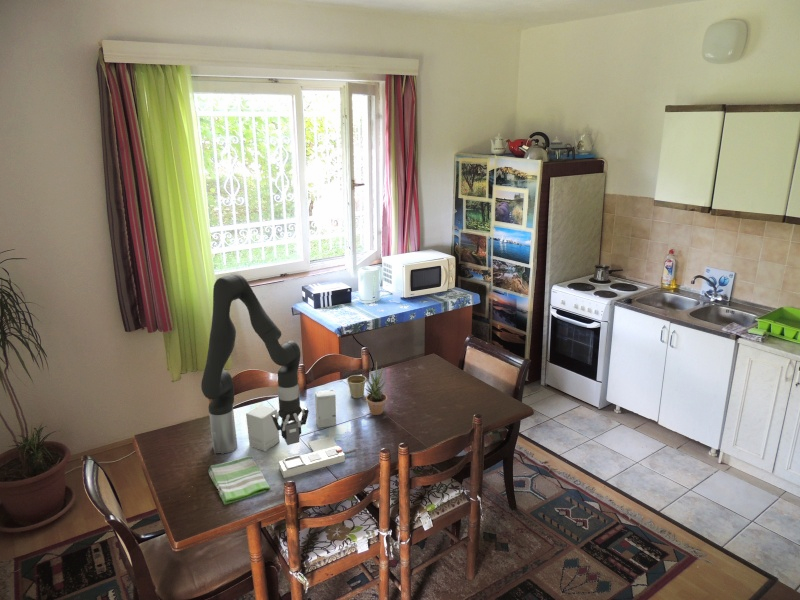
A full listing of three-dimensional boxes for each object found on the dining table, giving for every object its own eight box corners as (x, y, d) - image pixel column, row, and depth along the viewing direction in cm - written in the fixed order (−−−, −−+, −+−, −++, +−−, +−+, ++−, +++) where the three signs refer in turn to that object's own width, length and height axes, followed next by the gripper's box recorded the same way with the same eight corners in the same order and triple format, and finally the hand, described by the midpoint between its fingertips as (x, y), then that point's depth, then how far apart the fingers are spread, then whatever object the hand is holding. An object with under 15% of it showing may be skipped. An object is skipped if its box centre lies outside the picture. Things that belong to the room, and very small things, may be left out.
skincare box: (318, 428, 243) (316, 397, 239) (315, 421, 249) (313, 391, 244) (337, 425, 246) (335, 394, 241) (334, 418, 251) (333, 388, 247)
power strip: (284, 477, 209) (283, 469, 208) (279, 468, 215) (278, 459, 214) (359, 457, 222) (358, 448, 220) (352, 448, 228) (352, 440, 227)
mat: (315, 455, 223) (315, 454, 223) (308, 443, 232) (308, 442, 232) (339, 449, 227) (339, 447, 227) (331, 437, 236) (331, 436, 236)
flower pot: (344, 393, 275) (343, 377, 272) (362, 389, 278) (362, 373, 276) (351, 401, 267) (350, 384, 264) (369, 397, 270) (369, 381, 268)
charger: (287, 445, 208) (286, 426, 205) (284, 439, 212) (283, 420, 209) (299, 442, 210) (298, 423, 207) (296, 436, 214) (294, 417, 211)
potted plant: (390, 414, 254) (389, 363, 247) (370, 418, 251) (368, 367, 244) (382, 404, 263) (381, 355, 256) (363, 408, 260) (361, 359, 252)
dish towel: (252, 460, 222) (251, 452, 221) (272, 490, 203) (271, 482, 202) (207, 474, 213) (206, 465, 212) (224, 507, 195) (222, 498, 193)
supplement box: (280, 441, 234) (277, 409, 229) (265, 452, 226) (262, 418, 222) (264, 435, 238) (261, 403, 234) (248, 446, 231) (245, 413, 226)
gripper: (271, 403, 199) (275, 446, 204) (310, 395, 205) (313, 436, 210) (266, 394, 205) (270, 436, 210) (304, 387, 211) (307, 427, 216)
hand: (291, 436), depth 210 cm, fingers closed on charger, 4 cm apart
